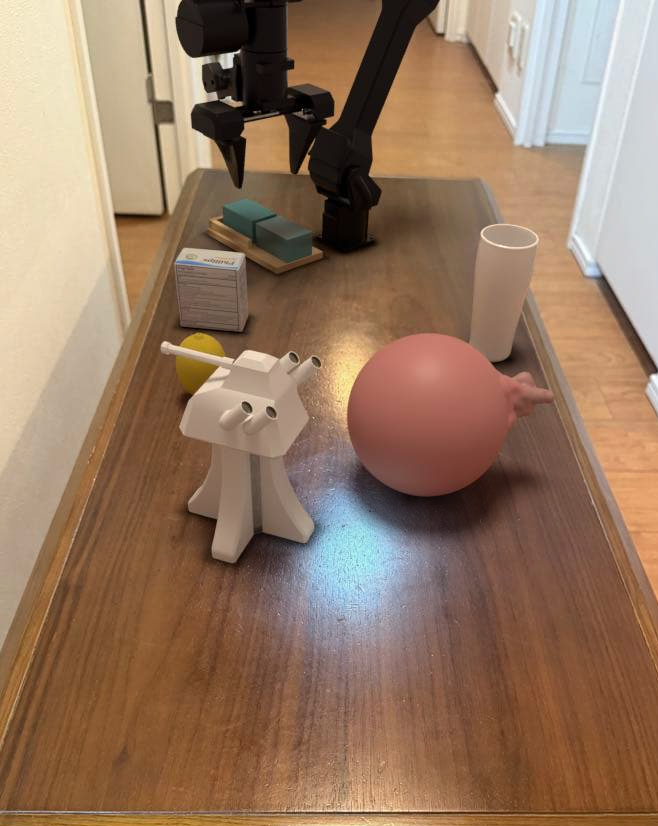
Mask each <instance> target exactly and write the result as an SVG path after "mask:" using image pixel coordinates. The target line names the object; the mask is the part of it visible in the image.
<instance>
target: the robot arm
mask: <svg viewBox="0 0 658 826" xmlns="http://www.w3.org/2000/svg"><path fill="white" fill-rule="evenodd" d="M301 2H303V0H181V1H180V2H179V3H178V6H177V10H176V16H174V23H175V30H176V31H175V32H176V34H177V38H178V41H179V43H180V46H181V48H182V50H183V51H184V53H185V54H186V56H188V57H189V58H192V59H199V58H204V57H205V58H207V57H212V56H218V55H220V56H221V55H226V54H233V57H232V67H228V68H227V67H226V68H223V66H222V64H221V62H220V61H214V62H208V63H203V64H202V65H201V82H202V85H203V89H204V91H205V92H206V93H207V94H212V93H216V97H217V99H215V100H211V101H210V100H209V101H205V102H200V103H199V102H198V103H195V104H194V106H193V108H192V109H191V111H190V124H191V129H192V130H194V131H196V132H199V133H200V134H202V135H203V136H204V137H206V138H208V139H210V140H212V141H213V142H214V143H215V145H216V146H217V148H218V150H219V152H220V153H221V155H222V158H223V161H224V164H225V165H226V168H227V170H228V173H229V176H230V178H231V181H232V183H233V186H234V187H235V188H236V189H238V190H241V189H242V188H243V184H244V177H245V166H246V152H247V151H246V150H247V138H246V137H244V136H242V133H243V132H244V131H245V124H246V123H252V122H255V121H256V122H257V121H261V120H267V119H271V118H277V117H281V116H284V120H285V121H286V124H287V128H288V163H289V170H290V173H291V174H292V175H298V174H299V171H300V169H301V167H302V165H303V163H304V161H305V160H306V157H307V156H309V158H308V163H307V171H308V173H309V178H310V180H311V181H312V183H313V184H314V187H315V191H316V193H317V194H319V195H322V196H324V197H326V198H327V199H324V200H323V201H324V204H323V212H322V214H321V215H322V217H321V232H320V233H317V234H316V239H317V240H318V241H321V242H323V243H325V244H326V245H329V246H331V247H332V248H335V249H337V250H339V251H340V252H342V253H347V252H350V251H353V250H356V249H359V248H362V247H365V246H367V245H370V244H373V243H375V241H376V238H375V237H373V236H372V235H369V233H368V232H369V218H370V217H369V216H370V211H371V210H372V208H373V207H376V206H378V205H379V202H380V199H381V196H382V193H383V190H382V189H381V188H380V186H379V185H378V184H377V182H375V181H374V179H373V178H372V177H371V175H370V171H371V169H372V166H373V161H374V155H373V154H374V153H373V140H372V137H373V133H374V130H375V128H376V126H377V124H378V120H379V118H380V116H381V114H382V111H383V108H384V106H385V104H386V101H387V99H388V96H389V94H390V92H391V89H392V86H393V84H394V81H395V79H396V76H397V74H398V72H399V70H400V66H401V64H402V62H403V60H404V57H405V55H406V52H407V49H408V47H409V45H410V42H411V40H412V37H413V35H414V32H415V30H416V28H417V27H418V26H419V25H420V24H421V23H422V22H423V21H424V20H425V19H426V18H428V17H429V16H430V15H431V14H432V13H433V12H434V11H435V10H436V9H437V7H438V5H439V3H440V2H441V0H381V10H380V13H379V16H378V19H377V21H376V24H375V26H374V29H373V31H372V34H371V37H370V39H369V42H368V44H367V47H366V49H365V51H364V54H363V56H362V60H361V62H360V64H359V67H358V69H357V72H356V75H355V77H354V80H353V83H352V85H351V88H350V90H349V93H348V95H347V97H346V101H345V103H344V106H343V109H342V110H341V113H340V116H339V118H338V120H337V121H336V122H335V123H333V124H332V125H331V126H329V128H327V127H325V126H326V125H327V124H328V120H327V119H330V118H333V117H335V108H336V107H335V105H336V104H335V103H336V102H335V98H334V96H333V94H332V93H331V91H329V90H327V89H324V88H321V87H320V86H316V85H314V84H312V83H310V82H308V83H301V84H297V85H291V86H289V71H292V70H295V59H293V58H291V57H289V49H288V48H289V45H288V41H289V40H288V39H289V38H288V37H289V36H288V33H289V31H288V29H289V28H288V26H289V25H288V24H289V23H288V21H289V20H288V19H289V17H288V15H289V13H288V9H289V8H288V5H289V4H295V3H301ZM228 97H230V100H231V101H233V102H236V103H239V102H240V103H241V105H238V106H233V105H231V104H229V103H226V102H225V101H223V100H225V99H226V98H228Z"/></svg>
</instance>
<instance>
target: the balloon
mask: <svg viewBox="0 0 658 826" xmlns="http://www.w3.org/2000/svg"><path fill="white" fill-rule="evenodd" d="M554 401H556V395H555V393H554V392H553V391H551V390H549V389H545V388H541V387H537V385H536V384H535V381H534V378H533V376H532V374H531V373H530V372H528V371H521V372H519V373H517V374H516V375H514V376H512V377H510V376H508V375H506V374H503V373H501V372H500V371H499V370H498V369H496V367H495V366H494V365H493V364H492V362H490V361H489V360H488V359H487V358H486V357H485V356H484V355H483V354H482V353H481V352H480V351H478V350H477V349H476V348H474V347H473V346H471V345H470V344H469V342H466V341H464V340H462V339H459V338H457V337H454V336H451V335H447V334H442V333H435V332H434V333H431V332H424V333H416V334H411V335H407V336H404V337H400V338H398V339H396V340H394V341H392V342H389V343H388V344H386V345H384V346H383V347H381V348H380V349H379V350H377V352H375V353H374V354H373V355H372V356H370V358H369V359H368V360H367V361H366V363H365V364H364V365H363V366H362V367H361V369H360V370H359V372H358V373H357V376H356V377H355V379H354V382H353V383H352V386H351V390H350V393H349V396H348V401H347V408H346V422H347V423H346V425H347V430H348V435H349V439H350V443H351V445H352V447H353V451H354V452H355V454H356V455H357V457H358V460H359V461H360V462H361V464H362V465H363V466H364V467H365V469H366V471H368V472H369V473H370V474H371V475H372V476H373V477H374V478H375V479H377V480H378V481H379V482H381V484H384V485H385V486H387V487H389V488H390V489H393V490H394V491H397V492H400V493H403V494H405V495H410V496H416V497H438V496H439V497H440V496H445V495H448V494H452V493H455V492H457V491H459V490H462V489H464V488H466V487H468V486H469V485H471V484H472V483H474V482H476V481H477V480H478V479H479V478H480V477H481V476H482V475H484V474H485V473H486V472H487V471H488V470H489V468H491V466H492V465H493V463H494V462H495V461H496V459H497V457H498V456H499V454H500V452H501V450H502V449H503V446H504V443H505V440H506V437H507V434H508V433H509V432H510V431H511V430H512V429H513V428H514V426H515V425H516V424H517V421H518V418H522V417H527V416H529V415H531V414H532V413H533V412H534V409H535V405H536V404H537V405H538V404H539V405H540V404H541V405H543V404H552V403H553V402H554Z"/></svg>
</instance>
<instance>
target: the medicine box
mask: <svg viewBox="0 0 658 826" xmlns="http://www.w3.org/2000/svg"><path fill="white" fill-rule="evenodd" d="M246 258H247V257H246V256H245V254H244V253H239V252H237V251H227V250H216V249H206V248H205V249H203V248H194V247H193V248H192V247H183V248H182V249H181V251H180V252H179V254H178V255H177V258H176V259H175V261H174V263H173V268H174V276H175V285H176V294H177V303H178V313H179V320H180V321H179V322H180V323H179V324H180V327H184V328H197V329H207V330H218V331H229V332H240V333H242V332H243V331H244V328H245V325H246V322H247V321H248V318H249V315H250V314H249V299H248V298H249V297H248V283H247V281H248V279H247V264H246V263H247V261H246Z"/></svg>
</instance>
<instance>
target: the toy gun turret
mask: <svg viewBox="0 0 658 826" xmlns="http://www.w3.org/2000/svg"><path fill="white" fill-rule="evenodd" d="M160 352H161V354H163V355H170V354H171V355H175V356H176V355H178V356H182V357H186V358H190V359H194V360H198V361H202V362H206V363H210V364H214V365H217V366H220V367H219V368H218V369H217V370H216V371H215V372H214V373H213V374H212V375H211V376H210V378H209V379H208V380H207V381H206V382H205V383H204V384H203V385H202V386H201V387H200V389H199V390H198V391H197V392H196V393H195V394H194V395H192V396H191V397H190V398H189V399H188V401H187V404H186V406H185V409H184V412H183V415H182V418H181V421H180V423H179V426H178V428H179V430H180V432H181V433H182V435H183V436H185V437H186V438H189V439H193V440H197V441H200V442H204V443H207V444H211V447H212V449H211V461H210V466H209V468H208V471H207V475H206V477H205V479H204V481H203V483H202V484H201V486H199V487H198V488H197V490H196V491H195V492H194V494H193V495H192V496H191V497H190V499H188V501H187V508H188V509H187V510H188V511H189V513H192V514H196V515H200V516H203V517H207V518H211V519H214V520H216V526H215V529H214V530H215V531H214V536H213V540H212V544H211V556H212V559H215V560H219V561H222V562H226V563H228V564H234V563H235V564H236V562H237V561H238V559H239V558H240V556H241V555H242V553H243V552H244V550H245V549H246V547H247V546H248V544H249V542H251V540H252V538H253V536H254V535H257V534H260V533H264V534H268V535H272V536H275V537H279V538H283V539H286V540H290V541H293V542H297V543H301V544H306V543H308V542H309V540H310V538H311V536H312V535H313V533H314V531H315V523H314V519H312V518H311V516H310V515H309V514H308V512H307V511H306V509H305V508H304V506H303V505H302V503H301V501H300V500H299V498H298V496H297V494H296V492H295V490H294V488H293V486H292V483H291V481H290V478H289V476H288V473H287V471H286V468H285V463H284V462H285V461H284V457H283V456H284V455H286V454H287V452H288V451H289V449H290V448H291V446H292V445H293V443H294V442H295V441H296V439H297V438H298V437H299V435H300V433H301V432H302V430H303V429H304V428H305V426H306V425H307V424H308V422H309V420H310V417H309V414H308V412H307V410H306V408H305V406H304V403H303V401H302V400H301V398H300V395H299V392H298V387H299V386H300V385H301V384H302V383H303V382H305V381H306V380H307V379H309V378H310V377H311V376H313V374H315V373H316V372H318V371H319V370H320V369H322V367H323V363H322V360H321V359H320V357H319V356H317V355H311V356H310V357H309V358H307V359H306V360H305V361H304V362H302V363H301V364H300V357H299V355H298V354H297V353H296V352H295V351H292V350H291V351H289V352H287V353H286V354H284V356H282V357H281V358H280V359H279V358H277V357H276V356H273V355H270V354H268V353H264V352H260V351H255V350H251V349H247V350H244V351H242V352H241V354H240V355H237V356H236V357H235V358H232V357H231V358H230V357H227V356H226V357H223V358H222V357H218V356H214V355H210V354H206V353H202V352H198V351H194V350H190V349H186V348H182V347H179V345H174V344H172V343H171V342H169V341H167V340H166V341H165V340H164V341H163V342H162V343H161V344H160ZM299 364H300V365H299ZM296 366H297V367H296ZM295 367H296V368H295ZM294 368H295V369H294ZM293 369H294V370H293ZM291 370H292V371H291ZM290 371H291V372H290ZM289 372H290V373H289ZM288 373H289V374H288Z"/></svg>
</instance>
